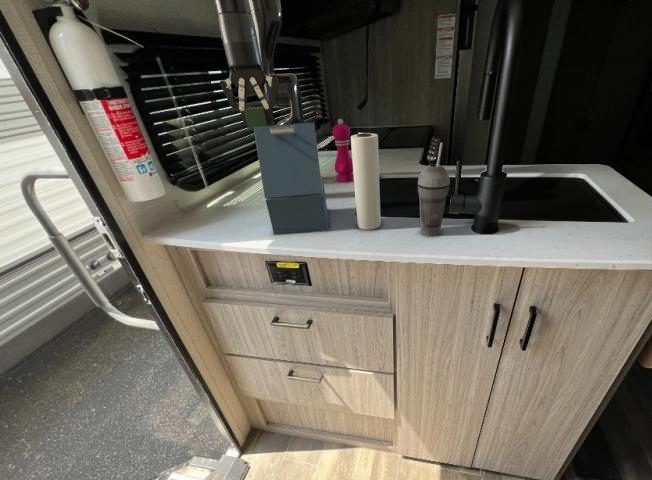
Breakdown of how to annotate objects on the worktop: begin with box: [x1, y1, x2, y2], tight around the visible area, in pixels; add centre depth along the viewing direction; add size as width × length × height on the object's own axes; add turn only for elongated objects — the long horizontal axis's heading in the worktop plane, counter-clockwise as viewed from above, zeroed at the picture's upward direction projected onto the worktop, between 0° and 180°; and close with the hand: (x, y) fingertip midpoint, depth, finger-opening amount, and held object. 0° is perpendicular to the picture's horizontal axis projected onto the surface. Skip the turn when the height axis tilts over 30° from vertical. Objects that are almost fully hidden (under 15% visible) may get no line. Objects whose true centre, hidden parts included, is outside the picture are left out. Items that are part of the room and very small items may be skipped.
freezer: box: [265, 178, 329, 235], centre depth 85 cm, size 15×14×9 cm
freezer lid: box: [253, 122, 323, 199], centre depth 73 cm, size 16×14×5 cm
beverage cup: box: [416, 142, 451, 237], centre depth 72 cm, size 7×7×20 cm
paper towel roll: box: [350, 132, 382, 231], centre depth 77 cm, size 7×6×21 cm
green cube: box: [244, 106, 267, 131], centre depth 81 cm, size 4×4×4 cm
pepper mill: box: [332, 118, 354, 183], centre depth 113 cm, size 7×7×20 cm
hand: (259, 126), depth 82 cm, fingers closed on green cube, 4 cm apart
